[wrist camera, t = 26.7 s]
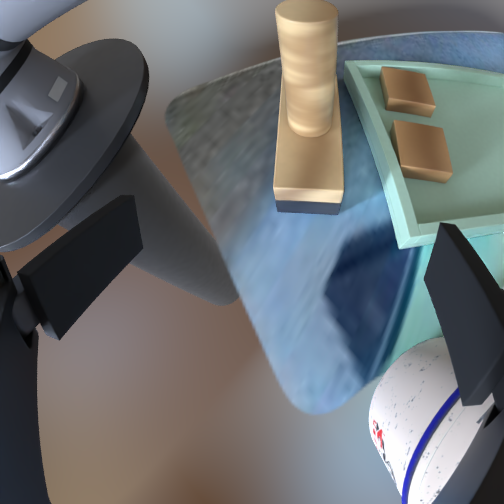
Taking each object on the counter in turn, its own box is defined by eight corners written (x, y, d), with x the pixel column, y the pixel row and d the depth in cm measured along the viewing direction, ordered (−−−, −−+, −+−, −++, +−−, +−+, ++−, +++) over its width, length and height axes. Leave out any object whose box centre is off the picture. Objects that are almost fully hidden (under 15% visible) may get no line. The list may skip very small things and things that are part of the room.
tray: (398, 249, 18) (409, 238, 16) (342, 79, 23) (344, 60, 21) (590, 216, 15) (603, 207, 13) (533, 94, 20) (541, 83, 18)
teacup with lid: (332, 424, 16) (363, 559, 4) (426, 303, 16) (567, 287, 5) (448, 494, 13) (516, 582, 2) (524, 393, 13) (633, 425, 2)
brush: (277, 212, 20) (249, 74, 9) (285, 101, 23) (268, -26, 12) (338, 215, 20) (368, 78, 8) (334, 103, 22) (339, -25, 11)
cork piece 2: (395, 177, 19) (400, 165, 18) (389, 131, 20) (393, 119, 19) (445, 184, 18) (453, 173, 17) (436, 139, 19) (442, 127, 18)
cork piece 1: (385, 110, 21) (388, 98, 19) (378, 78, 22) (381, 65, 20) (430, 118, 20) (436, 106, 18) (421, 85, 21) (425, 73, 20)
